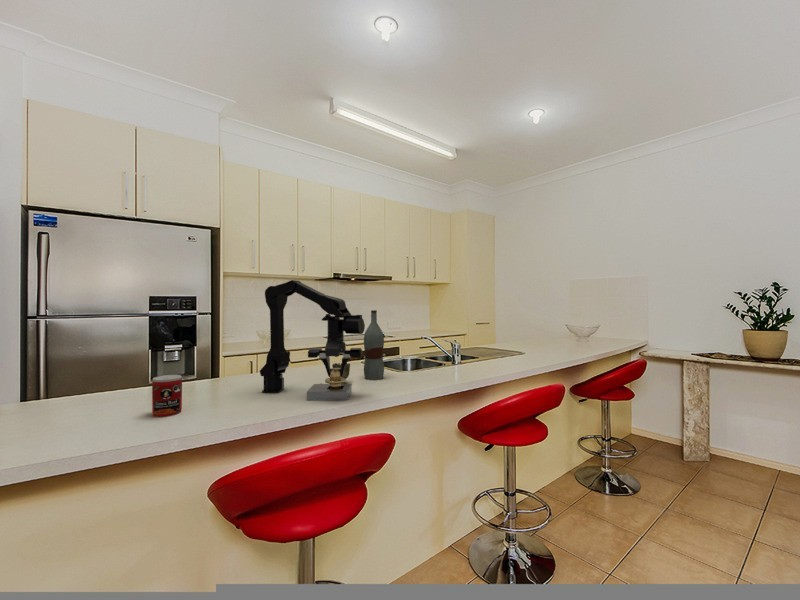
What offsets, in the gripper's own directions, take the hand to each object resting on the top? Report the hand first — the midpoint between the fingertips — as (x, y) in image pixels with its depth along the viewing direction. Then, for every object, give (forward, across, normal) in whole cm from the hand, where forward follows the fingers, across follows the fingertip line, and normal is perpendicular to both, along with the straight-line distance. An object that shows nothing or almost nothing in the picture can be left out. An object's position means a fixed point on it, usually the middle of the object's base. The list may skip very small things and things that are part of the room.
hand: (335, 376), depth 134 cm
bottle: (+7, +12, +31) cm, 34 cm away
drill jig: (+7, -2, 0) cm, 7 cm away
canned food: (+7, -48, -20) cm, 52 cm away
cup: (+7, -1, +21) cm, 22 cm away
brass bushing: (+4, 0, 0) cm, 4 cm away
